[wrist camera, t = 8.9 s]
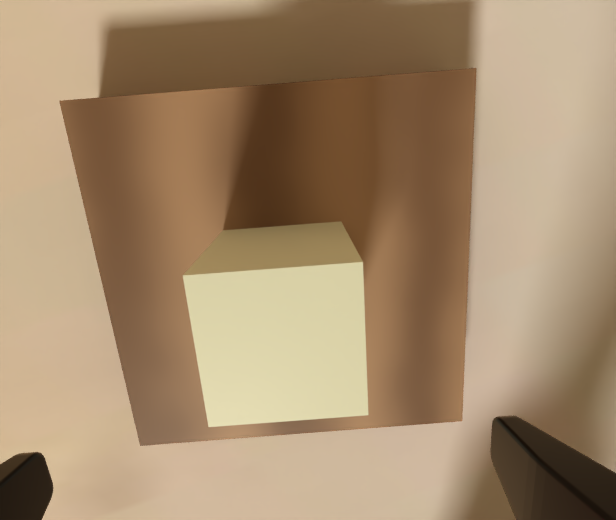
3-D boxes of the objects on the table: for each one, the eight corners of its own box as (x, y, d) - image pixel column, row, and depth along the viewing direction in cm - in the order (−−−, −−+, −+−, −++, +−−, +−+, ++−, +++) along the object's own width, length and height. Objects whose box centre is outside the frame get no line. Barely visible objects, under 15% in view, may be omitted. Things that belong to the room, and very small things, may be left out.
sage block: (341, 221, 17) (362, 261, 11) (346, 329, 18) (368, 415, 12) (223, 230, 17) (182, 275, 11) (237, 337, 18) (208, 427, 12)
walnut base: (448, 80, 18) (476, 67, 15) (441, 385, 23) (462, 421, 20) (97, 107, 18) (59, 100, 15) (160, 407, 23) (140, 445, 20)
